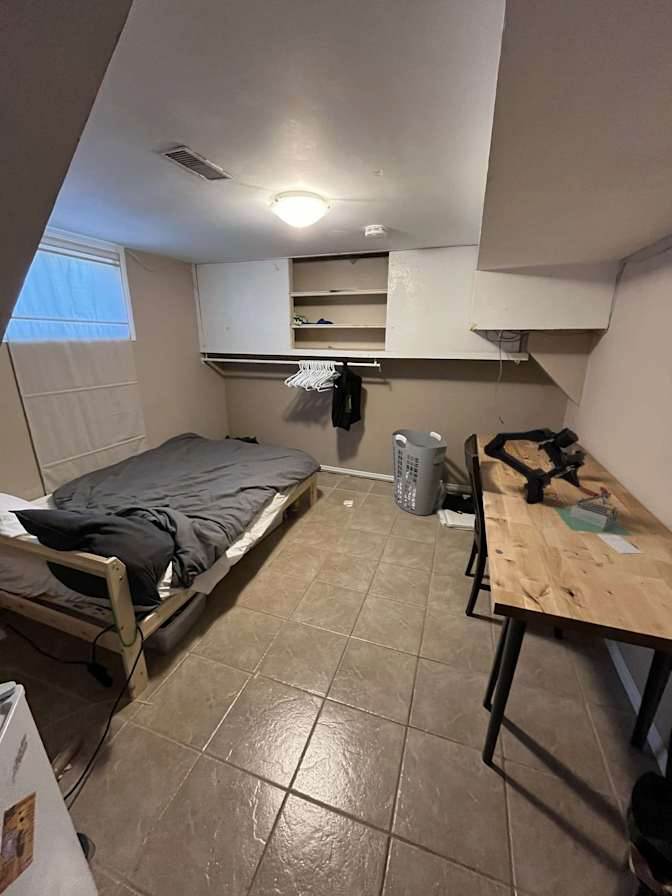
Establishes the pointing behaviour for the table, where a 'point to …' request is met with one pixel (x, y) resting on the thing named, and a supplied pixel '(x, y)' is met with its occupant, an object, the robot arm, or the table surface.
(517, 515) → the table surface
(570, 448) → the spray can
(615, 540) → the external hard drive
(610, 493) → the dark metal plate
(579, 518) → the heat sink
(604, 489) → the pliers
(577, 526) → the green square mat
